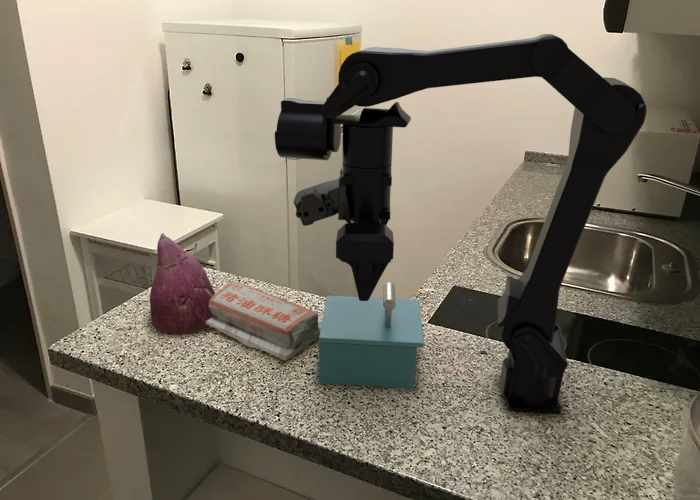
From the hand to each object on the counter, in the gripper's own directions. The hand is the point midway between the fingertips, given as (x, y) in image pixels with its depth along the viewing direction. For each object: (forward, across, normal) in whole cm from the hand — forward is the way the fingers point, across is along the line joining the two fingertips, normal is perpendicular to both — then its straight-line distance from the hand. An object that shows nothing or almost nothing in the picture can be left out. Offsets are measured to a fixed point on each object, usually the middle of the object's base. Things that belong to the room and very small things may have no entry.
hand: (364, 283), depth 74 cm
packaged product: (+13, -10, -16) cm, 22 cm away
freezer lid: (+7, -2, +1) cm, 7 cm away
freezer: (+13, -2, +1) cm, 13 cm away
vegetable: (+13, -12, -28) cm, 32 cm away
